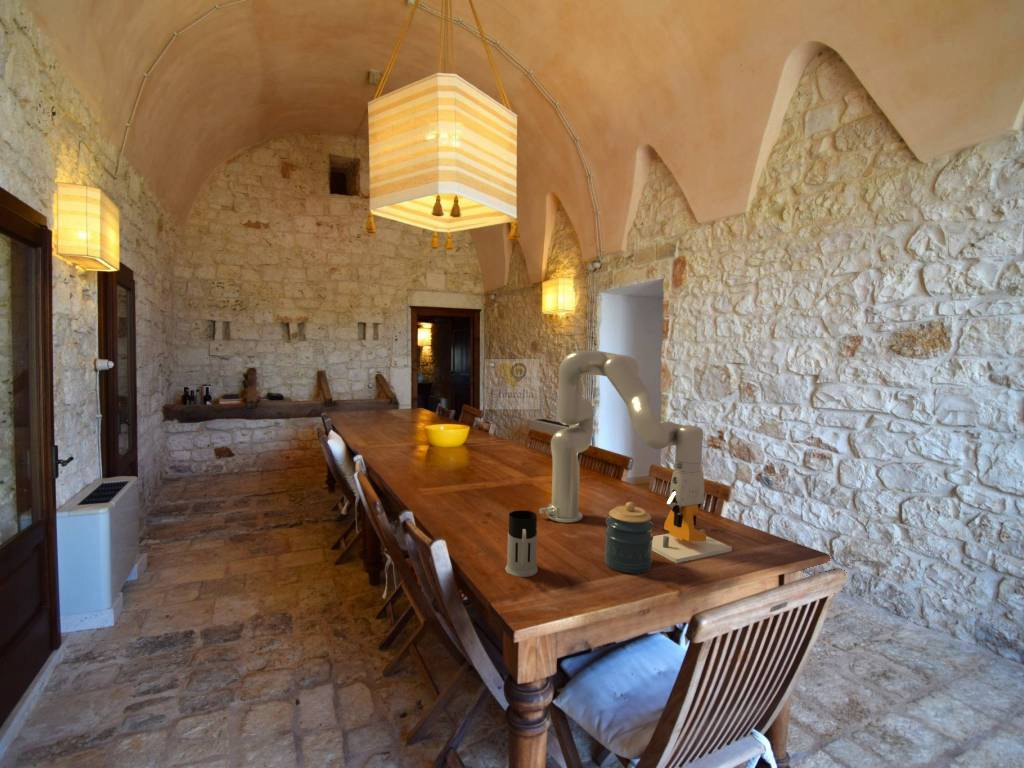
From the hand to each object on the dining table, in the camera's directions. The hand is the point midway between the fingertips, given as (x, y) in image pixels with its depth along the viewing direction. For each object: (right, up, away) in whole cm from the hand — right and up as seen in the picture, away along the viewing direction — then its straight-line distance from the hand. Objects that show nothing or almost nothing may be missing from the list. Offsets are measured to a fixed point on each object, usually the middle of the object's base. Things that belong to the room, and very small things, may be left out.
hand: (684, 524), depth 149 cm
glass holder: (-50, -7, -20) cm, 54 cm away
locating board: (0, -7, 0) cm, 7 cm away
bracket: (0, -4, 0) cm, 4 cm away
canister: (-20, -8, -13) cm, 25 cm away
